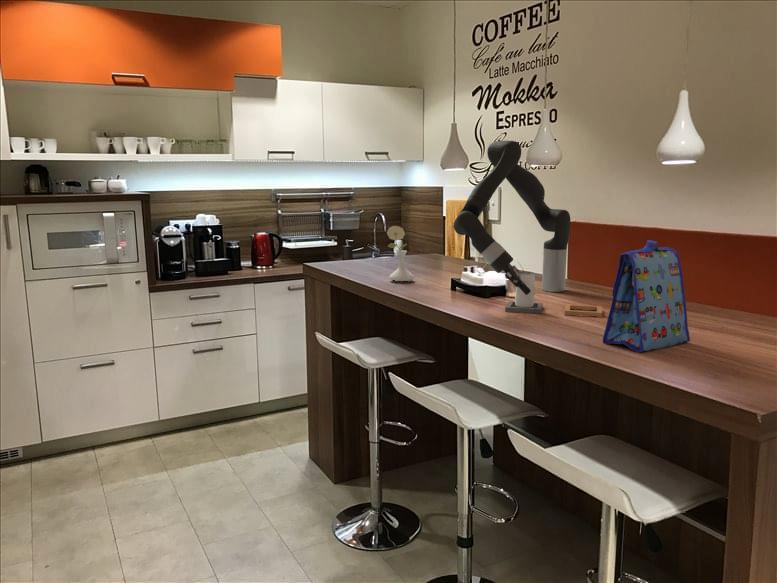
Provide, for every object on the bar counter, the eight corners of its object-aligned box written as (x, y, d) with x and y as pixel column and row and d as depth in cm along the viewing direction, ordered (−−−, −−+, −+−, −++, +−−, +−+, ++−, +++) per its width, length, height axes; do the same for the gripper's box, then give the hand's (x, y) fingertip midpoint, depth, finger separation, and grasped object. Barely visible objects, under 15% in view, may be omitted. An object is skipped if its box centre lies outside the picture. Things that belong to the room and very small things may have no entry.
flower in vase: (418, 280, 293) (418, 225, 288) (408, 284, 282) (408, 227, 278) (391, 278, 298) (391, 224, 294) (381, 282, 288) (381, 226, 283)
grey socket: (509, 305, 236) (509, 301, 236) (542, 307, 233) (542, 302, 232) (505, 311, 225) (505, 307, 224) (540, 313, 221) (540, 309, 221)
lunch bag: (649, 333, 193) (656, 237, 188) (691, 343, 182) (699, 240, 177) (600, 343, 182) (606, 240, 177) (642, 354, 171) (650, 245, 166)
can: (533, 308, 225) (535, 274, 223) (514, 307, 226) (516, 273, 224) (533, 304, 231) (534, 271, 229) (515, 303, 232) (516, 270, 230)
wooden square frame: (565, 308, 230) (565, 304, 230) (601, 310, 227) (601, 306, 227) (564, 315, 219) (564, 310, 219) (602, 317, 216) (602, 312, 215)
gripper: (502, 251, 221) (536, 287, 219) (507, 247, 234) (539, 281, 233) (486, 266, 223) (519, 302, 222) (491, 261, 237) (523, 294, 235)
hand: (529, 291), depth 227 cm, fingers closed on can, 6 cm apart
